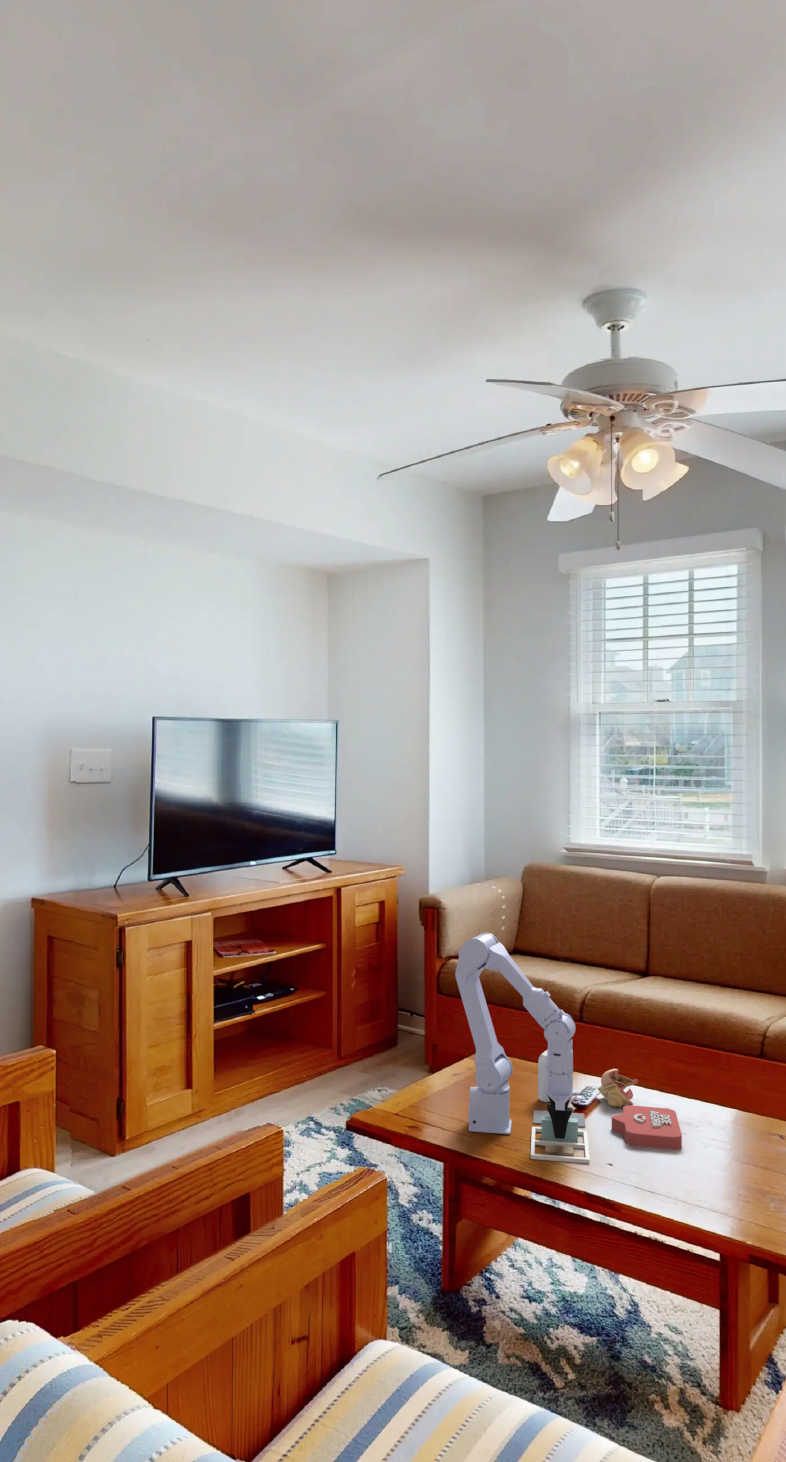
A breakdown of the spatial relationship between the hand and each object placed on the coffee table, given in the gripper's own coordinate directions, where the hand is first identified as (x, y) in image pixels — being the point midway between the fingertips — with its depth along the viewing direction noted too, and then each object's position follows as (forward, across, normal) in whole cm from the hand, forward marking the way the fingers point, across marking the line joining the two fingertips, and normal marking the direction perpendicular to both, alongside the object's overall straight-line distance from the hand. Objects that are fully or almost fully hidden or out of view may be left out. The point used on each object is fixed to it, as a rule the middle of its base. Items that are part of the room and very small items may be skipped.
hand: (559, 1131), depth 216 cm
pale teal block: (+2, 0, 0) cm, 2 cm away
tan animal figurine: (+2, +26, -14) cm, 30 cm away
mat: (+2, +12, 0) cm, 12 cm away
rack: (+2, -4, 0) cm, 4 cm away
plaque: (+2, +8, -19) cm, 21 cm away
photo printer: (+2, +27, +1) cm, 27 cm away
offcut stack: (+2, -8, 0) cm, 8 cm away
